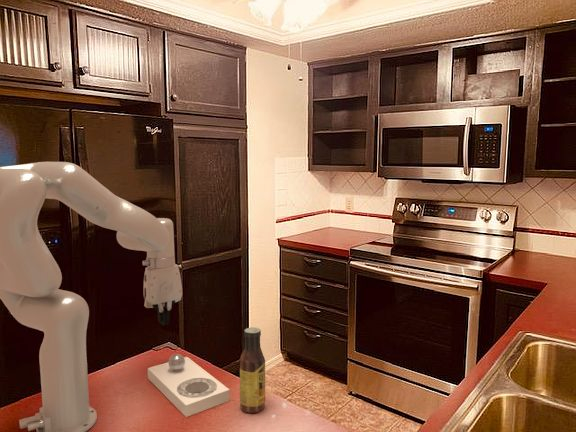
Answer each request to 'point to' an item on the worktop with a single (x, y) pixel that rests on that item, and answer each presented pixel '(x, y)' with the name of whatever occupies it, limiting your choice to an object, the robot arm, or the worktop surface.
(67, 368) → the robot arm
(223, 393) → the deck
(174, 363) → the ball
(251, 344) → the sauce bottle
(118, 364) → the worktop surface
